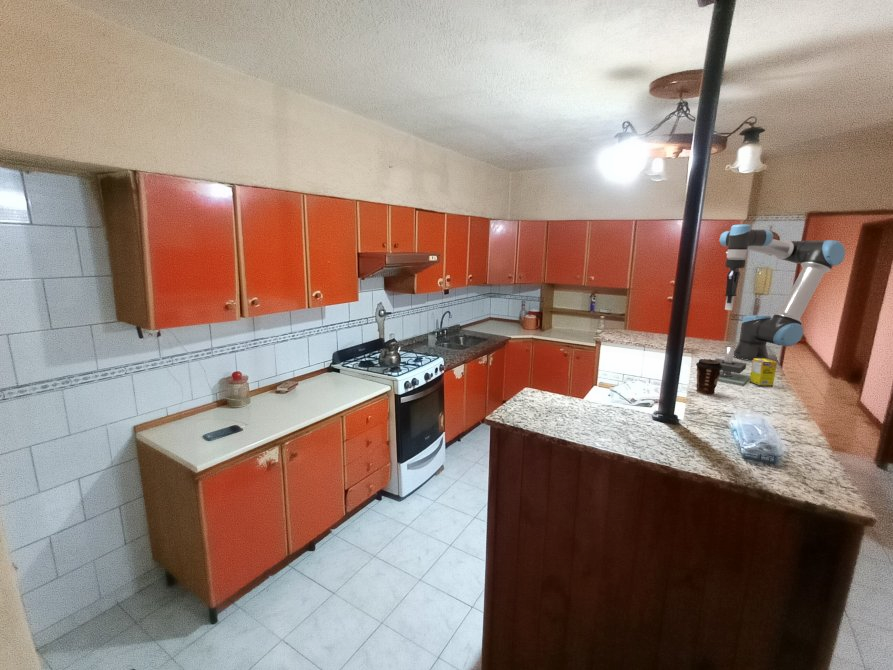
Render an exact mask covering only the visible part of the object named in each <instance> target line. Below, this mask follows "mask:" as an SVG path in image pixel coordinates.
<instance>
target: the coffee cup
mask: <svg viewBox="0 0 893 670" xmlns="http://www.w3.org/2000/svg"><path fill="white" fill-rule="evenodd" d="M695 365H696V391H695V392H697V393H698V394H701V395H706V396H711V395H713V396H714V395H715V393H716V392H715V391H716V388H717V386H718V382H719V381H718V379H719V375H720V369H721V368H722V366H721V364H720V362H718V361H715V359H711V358H709V359H708V358H707V359H706V358H701V359H699V360H698V362H696V364H695Z"/></svg>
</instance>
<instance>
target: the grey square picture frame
mask: <svg viewBox="0 0 893 670" xmlns="http://www.w3.org/2000/svg"><path fill="white" fill-rule="evenodd" d="M714 360H715V361H718V362H720V364H721V366H722V368H721V369H720V370H722V371H728V372H733V373H738V374H742V372H743V371H745V370H746V368H747V363H746V362H741V361H736V360H735V361H734V360H733V361H732V365H730V364H724V360H725V359H724V358H722V359H721V358H715V359H714Z"/></svg>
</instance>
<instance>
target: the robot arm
mask: <svg viewBox="0 0 893 670" xmlns="http://www.w3.org/2000/svg"><path fill="white" fill-rule="evenodd" d="M751 227H752V226H751V224H742V223H741V224H733V225H732V226H731V227H730V230H726V231H723V232H722V233H721V234H720V235H719V236H720V237H719V243H720V245H721V246H722V247H726V248H727V251H726V252H725V254H726V260H725V268H727V269H728V268H729V271H728V272H727V275H726V290H725V294H724V296H725V299H726V300H725V304H724V305H725V307H724V310H726V311H733V307H734V299H735V297H737V288H738V283H739V279H740V276H741V272H740V269H744V268H745V266H746V259H747V255H748V251H751V252H756V253H761V254H766V255H770V256H774V257H775V258H777V259H779V260H782V261H786V262H789V263H793V264H799V265H800V266H801V268H802V269H801V270H800V272H799V274H798V277H796V280H795V282H794V283H793V286H792V288H791V290H790V292H789V293H788V295H787V297H786V299H785V300H784V303H783V305H782V306H781V308H780V310H779V312H777V313H775V314H773V316H770V315H759V314H757V315H744V316H743V317H742V322H741V328H740V335H739V340H738V344H737V346H736V347H735V349H734V356H736V357H739V358H743V359H748V360H753V359H754V358H758V359H769V352H768V349H767V343H768V344H774V345H776V346H782V347H792V346H794V345H796V344H797V343H798V342H800V340H801V339H802V338H803V335H804V327H803V326H802V324H803V321H802V320H801V318H802V316H803V314H804V312H805V311H806V308H807V307H808V306H809V302H810V301H811V299H812V297H813V295H814V293H815V292H816V290H817V288H818V286H819V284H820V282H821V280H822V279H823V277H824V275H825V274H826V273H829V272H830V271H831V270H832V268H833V267H836V266H839V265H841V264H842V263H843V261H844V259H845V257H846V250H845V246H844V245H843V243H842V242H841V241H839V240H835V239H834V240H833V239H832V240H831V239H825V240H824V239H823V240H790V239H788V240H787V239H785V240H779V239H775V238H774V234H773V232H772V231H771V230H769V229H752V228H751ZM748 360H747V361H748Z"/></svg>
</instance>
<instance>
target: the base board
mask: <svg viewBox="0 0 893 670" xmlns="http://www.w3.org/2000/svg"><path fill="white" fill-rule="evenodd" d="M722 372H723V370H720V374H721V373H722ZM731 374H732V377H725V376H721V375H719V379H718V382H720V383H723V384H724V383H726V384H729V385H730V384H731V385H735V386H739V387H744V386H745V385H746V384H748V383H749V382H750V376H751V375H748V374H743V373H740V374H739V373H734V372H731Z"/></svg>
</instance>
